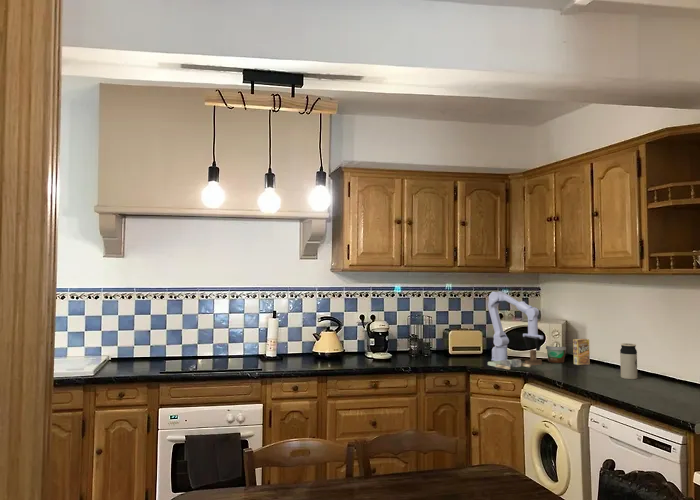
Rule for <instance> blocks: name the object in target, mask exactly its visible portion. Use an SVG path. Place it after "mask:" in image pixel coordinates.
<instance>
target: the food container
mask: <svg viewBox="0 0 700 500" xmlns="http://www.w3.org/2000/svg"><path fill="white" fill-rule="evenodd" d="M545 349H546V353H547V361H548V362H549V363H551V364H552V363H553V364H562V363H565V355H566V351H567V347H566V346H550V345H546V346H545Z"/></svg>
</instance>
